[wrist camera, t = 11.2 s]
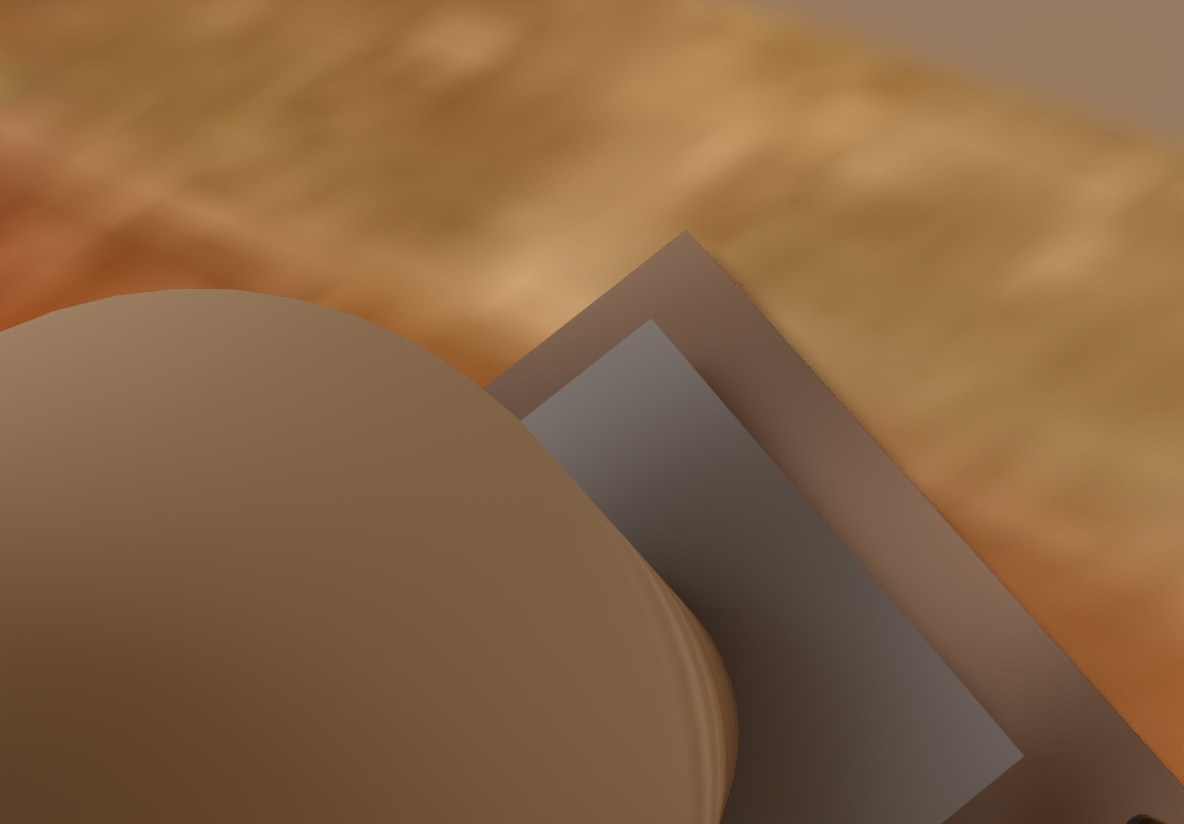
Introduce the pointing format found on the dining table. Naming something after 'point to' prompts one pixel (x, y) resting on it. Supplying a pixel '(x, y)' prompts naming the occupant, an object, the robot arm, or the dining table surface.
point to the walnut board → (879, 540)
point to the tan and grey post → (429, 593)
